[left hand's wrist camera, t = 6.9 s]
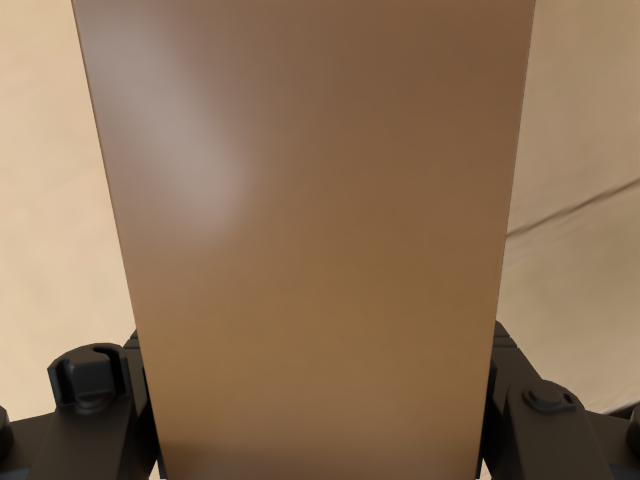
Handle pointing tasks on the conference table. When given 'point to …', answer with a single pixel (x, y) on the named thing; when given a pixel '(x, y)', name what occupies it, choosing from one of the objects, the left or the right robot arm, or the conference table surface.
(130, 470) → the left robot arm
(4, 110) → the conference table surface
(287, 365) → the bar
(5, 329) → the conference table surface
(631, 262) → the conference table surface
